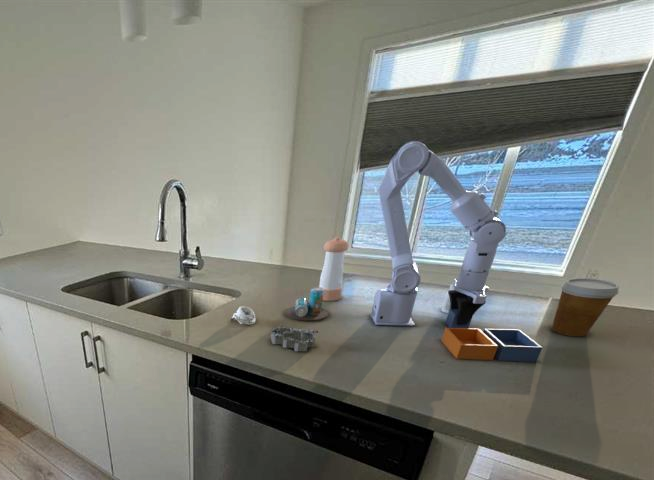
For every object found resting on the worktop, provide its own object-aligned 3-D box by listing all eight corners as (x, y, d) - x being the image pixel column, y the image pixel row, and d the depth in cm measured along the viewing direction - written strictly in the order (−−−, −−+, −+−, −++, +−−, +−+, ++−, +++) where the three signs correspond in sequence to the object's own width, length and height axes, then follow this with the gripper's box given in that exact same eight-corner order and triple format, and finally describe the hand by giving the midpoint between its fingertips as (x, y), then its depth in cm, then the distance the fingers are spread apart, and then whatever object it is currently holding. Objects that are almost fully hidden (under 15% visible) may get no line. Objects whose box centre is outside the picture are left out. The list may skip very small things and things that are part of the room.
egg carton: (318, 345, 104) (320, 331, 102) (300, 354, 100) (302, 339, 98) (284, 334, 112) (285, 320, 110) (266, 342, 108) (267, 327, 106)
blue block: (450, 328, 106) (455, 314, 104) (445, 322, 109) (449, 308, 107) (468, 329, 105) (473, 314, 103) (462, 323, 108) (467, 309, 106)
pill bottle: (462, 314, 113) (471, 287, 109) (444, 314, 114) (453, 287, 110) (455, 308, 117) (463, 282, 113) (438, 308, 118) (446, 282, 114)
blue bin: (498, 360, 90) (503, 346, 88) (479, 341, 98) (484, 328, 97) (536, 361, 88) (542, 347, 86) (513, 342, 96) (519, 329, 95)
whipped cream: (242, 318, 127) (242, 302, 125) (261, 320, 122) (261, 304, 120) (227, 324, 122) (227, 308, 120) (246, 327, 117) (246, 310, 115)
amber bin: (456, 358, 92) (461, 344, 91) (441, 340, 100) (445, 327, 99) (492, 360, 90) (498, 346, 89) (474, 341, 99) (479, 328, 97)
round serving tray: (328, 322, 116) (332, 295, 112) (284, 320, 120) (287, 294, 116) (326, 308, 126) (330, 282, 122) (286, 306, 129) (288, 282, 125)
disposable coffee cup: (586, 325, 101) (610, 278, 95) (603, 341, 94) (630, 290, 88) (537, 322, 105) (557, 276, 99) (550, 337, 97) (572, 288, 91)
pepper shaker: (344, 300, 130) (354, 238, 121) (321, 301, 131) (330, 240, 121) (335, 293, 137) (344, 234, 127) (313, 294, 137) (321, 236, 127)
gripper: (508, 277, 92) (488, 332, 99) (481, 261, 104) (465, 311, 111) (472, 277, 94) (455, 331, 101) (450, 262, 106) (435, 311, 113)
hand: (458, 321), depth 106 cm, fingers closed on blue block, 4 cm apart
